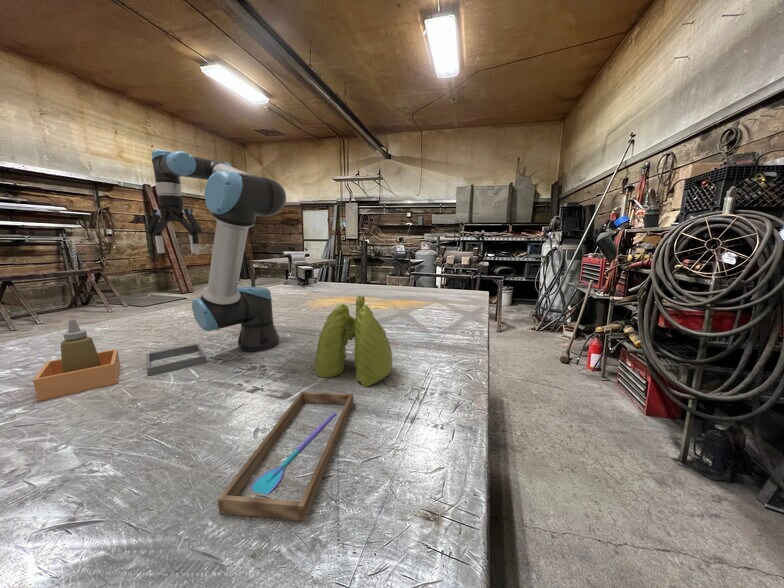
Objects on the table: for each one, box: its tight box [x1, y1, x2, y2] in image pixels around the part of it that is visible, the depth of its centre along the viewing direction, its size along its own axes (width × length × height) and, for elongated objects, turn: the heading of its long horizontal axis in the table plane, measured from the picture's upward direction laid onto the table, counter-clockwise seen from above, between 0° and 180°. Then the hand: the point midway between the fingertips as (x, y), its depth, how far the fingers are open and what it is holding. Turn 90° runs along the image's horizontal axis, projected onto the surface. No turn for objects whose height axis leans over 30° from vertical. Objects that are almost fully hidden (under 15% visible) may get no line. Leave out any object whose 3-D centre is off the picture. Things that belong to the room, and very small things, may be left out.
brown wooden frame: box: [217, 391, 354, 521], centre depth 62 cm, size 14×33×2 cm, turn 174°
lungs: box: [313, 295, 393, 387], centre depth 93 cm, size 25×16×24 cm, turn 67°
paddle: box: [250, 412, 337, 496], centre depth 61 cm, size 25×4×1 cm, turn 162°
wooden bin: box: [32, 348, 121, 402], centre depth 89 cm, size 16×16×6 cm
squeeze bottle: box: [60, 319, 101, 373], centre depth 88 cm, size 8×8×18 cm
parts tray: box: [145, 343, 207, 377], centre depth 104 cm, size 16×16×2 cm
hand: (178, 252), depth 117 cm, fingers open, 13 cm apart
